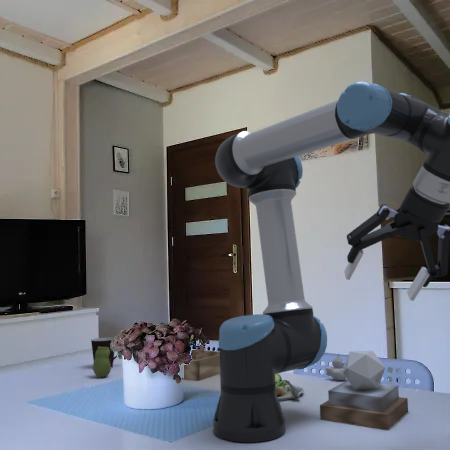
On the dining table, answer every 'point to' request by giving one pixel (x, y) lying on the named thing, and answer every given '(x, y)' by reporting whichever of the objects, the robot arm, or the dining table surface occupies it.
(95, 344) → the coffee mug
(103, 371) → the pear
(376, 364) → the die
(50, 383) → the dining table surface
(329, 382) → the dining table surface
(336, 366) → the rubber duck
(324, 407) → the plinth
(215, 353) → the figurine cradle
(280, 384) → the salad plate
